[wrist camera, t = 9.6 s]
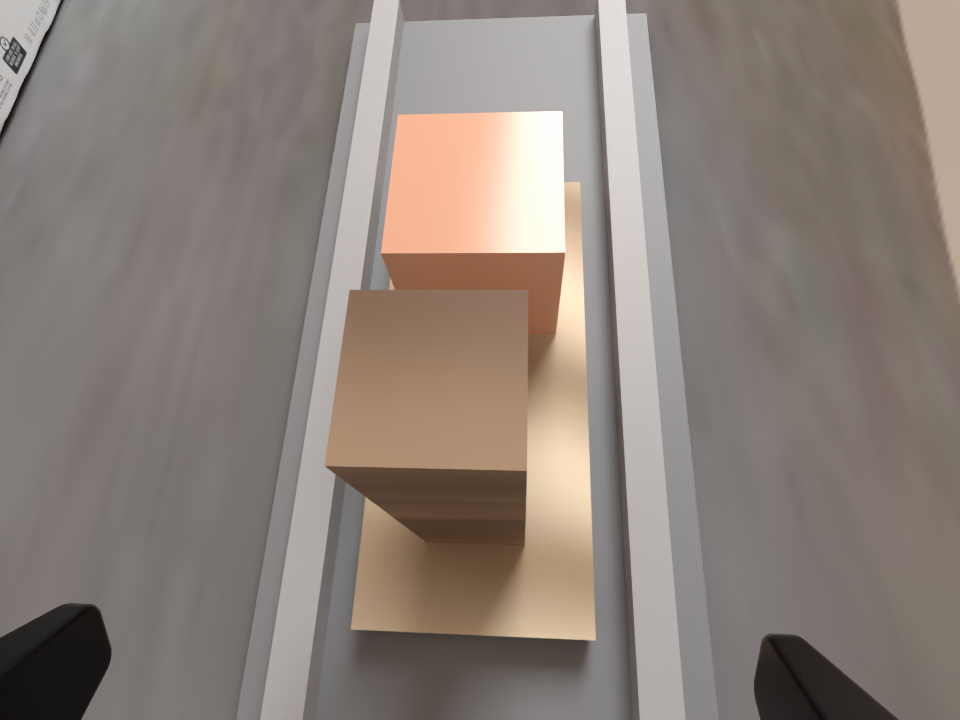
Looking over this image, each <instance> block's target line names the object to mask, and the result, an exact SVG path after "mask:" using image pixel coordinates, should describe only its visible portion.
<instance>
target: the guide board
mask: <svg viewBox="0 0 960 720" xmlns="http://www.w3.org/2000/svg"><path fill="white" fill-rule="evenodd" d="M541 111H562V113H563V161H564V182H580V192H581V222H582V251H583V280H584V309H585V338H586V368H587V397H588V426H589V455H590V485H591V514H592V543H593V572H594V601H595V631H596V640H573V639H551V638H529V637H506V636H484V635H462V634H439V633H417V632H395V631H372V630H351V623H352V614H353V605H354V596H355V587H356V578H357V569H358V560H359V552H360V543H361V534H362V525H363V516H364V507H365V498H366V497H365V496H364V495H362V494H361V493H360V492H358V491H357V490H356V489H354V488H353V487H352V486H350V485H349V484H348V483H346V482H345V481H344V480H342V479H341V478H340V477H338V476H337V475H336V474H334V473H333V472H332V471H330V470H329V469H328V468H326V467H325V459H326V452H327V445H328V438H329V431H330V424H331V417H332V410H333V403H334V396H335V389H336V382H337V375H338V368H339V361H340V354H341V347H342V340H343V333H344V326H345V319H346V311H347V304H348V297H349V290H389V286H390V275H389V273H388V270H387V268H386V265H385V262H384V260H383V257H382V255H381V249H382V241H383V232H384V224H385V216H386V208H387V200H388V191H389V183H390V175H391V167H392V159H393V151H394V142H395V134H396V126H397V118H398V115H408V114H452V113H496V112H541ZM236 720H719V718H718V708H717V699H716V689H715V679H714V669H713V660H712V650H711V640H710V630H709V621H708V611H707V601H706V591H705V582H704V572H703V562H702V552H701V543H700V533H699V523H698V513H697V504H696V494H695V484H694V475H693V465H692V455H691V445H690V436H689V426H688V416H687V406H686V397H685V387H684V377H683V367H682V358H681V348H680V338H679V328H678V319H677V309H676V299H675V289H674V280H673V270H672V260H671V250H670V241H669V231H668V221H667V211H666V202H665V192H664V182H663V173H662V163H661V153H660V143H659V134H658V124H657V114H656V104H655V95H654V85H653V75H652V65H651V56H650V46H649V36H648V26H647V17H646V13H642V14H626V3H625V0H597V1H596V10H595V15H584V16H555V17H526V18H497V19H468V20H439V21H410V22H404V18H403V13H402V8H401V3H400V0H374V5H373V11H372V17H371V23H356V26H355V32H354V37H353V43H352V49H351V55H350V61H349V66H348V72H347V78H346V84H345V90H344V95H343V101H342V107H341V113H340V119H339V124H338V130H337V136H336V142H335V148H334V153H333V159H332V165H331V171H330V177H329V182H328V188H327V194H326V200H325V206H324V211H323V217H322V223H321V229H320V235H319V240H318V246H317V252H316V258H315V264H314V269H313V275H312V281H311V287H310V293H309V298H308V304H307V310H306V316H305V322H304V327H303V333H302V339H301V345H300V351H299V357H298V362H297V368H296V374H295V380H294V386H293V391H292V397H291V403H290V409H289V415H288V420H287V426H286V432H285V438H284V444H283V449H282V455H281V461H280V467H279V473H278V478H277V484H276V490H275V496H274V502H273V507H272V513H271V519H270V525H269V531H268V536H267V542H266V548H265V554H264V560H263V565H262V571H261V577H260V583H259V589H258V594H257V600H256V606H255V612H254V618H253V623H252V629H251V635H250V641H249V647H248V652H247V658H246V664H245V670H244V676H243V681H242V687H241V693H240V699H239V705H238V710H237V716H236Z"/></svg>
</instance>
